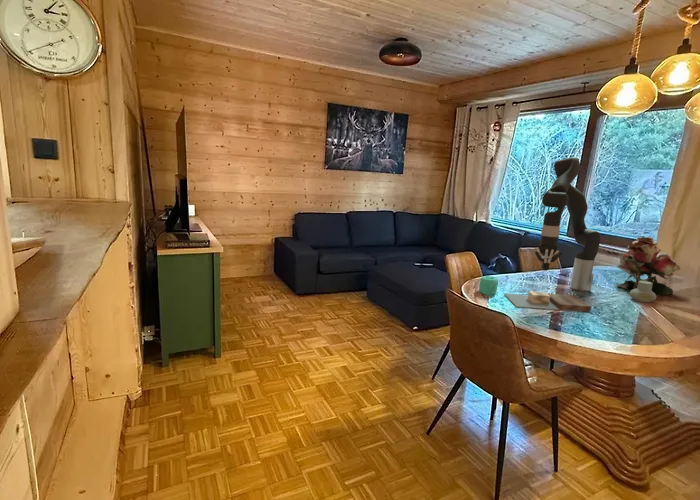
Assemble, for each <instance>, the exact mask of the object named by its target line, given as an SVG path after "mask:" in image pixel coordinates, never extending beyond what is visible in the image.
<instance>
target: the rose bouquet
mask: <svg viewBox="0 0 700 500" xmlns="http://www.w3.org/2000/svg"><path fill="white" fill-rule="evenodd" d="M631 244H632V245H628V246H627V250H628V252H626V253H625V254H622V256H621V257H620V258H619V264H617V265H616V268H617V269H620V270H621V271H623V272H624V273H627V274H628V275H629V276H628V277H627V279H624V282H623V283H615V287H616V288H622V289H625V290H627V291H629V292H631V290H633V289H636V288H637V286H638V282H639V281H648V282H651V283H652V284H653V285H652V290H651V291H652V292H654V293H655V295H658V296H662V295H663V296H666V295H670V294H671V295H672V294H673V293H674V290H673V288H670V287H671V286H667V285H666V284H664V283H661V282H658V280H657V277H656V276H659V277H660V278H662V279H665V280H668V281H670V282H671V279H669V278H672V277H674V272H676V271H680V270H681V267H680V265H679V264H677V261H676V260H674V257H673V256H672V255H670V254H668V253H665V252H661V251H662V250H661V248H659V247H658V243H657V242H656V240H654V238H653V237H649V236H648V237H646V236H640V237H636V240H635V241H632V242H631ZM660 252H661V253H660ZM641 276H647V278H644V279H642V278H641ZM665 276H667V277H669V278H667V277H665ZM632 277H633V279H634V281H633V280H632V279H631V280H630V278H632Z"/></svg>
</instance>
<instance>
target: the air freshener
mask: <svg viewBox="0 0 700 500" xmlns="http://www.w3.org/2000/svg"><path fill="white" fill-rule="evenodd" d="M652 285H653V284H652V283H651V282H648V281H639V282H638V286H637V288H636V289H630V290H631V291H629V296H630V298H632V299H634V301H638V302H640V303H645V304H646V303H647V304H648V303H652V302H654V301H656V299H657V296H656V295H655V293H654V292H652V291H651V290H652Z"/></svg>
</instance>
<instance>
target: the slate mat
mask: <svg viewBox="0 0 700 500" xmlns="http://www.w3.org/2000/svg"><path fill="white" fill-rule="evenodd" d="M504 296H505V297H506V298H507V299H508V300H509V301H510V302H511V303H512V304H513V305H514V307H516V308H521V309H533V310H535V309H536V310H549V311H561V309H559V308H558V307H556V306H555V305H554V304H553V303H551V302H549V304H541V303H532V302H531V301H529V300H528V294H514V293H504Z"/></svg>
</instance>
